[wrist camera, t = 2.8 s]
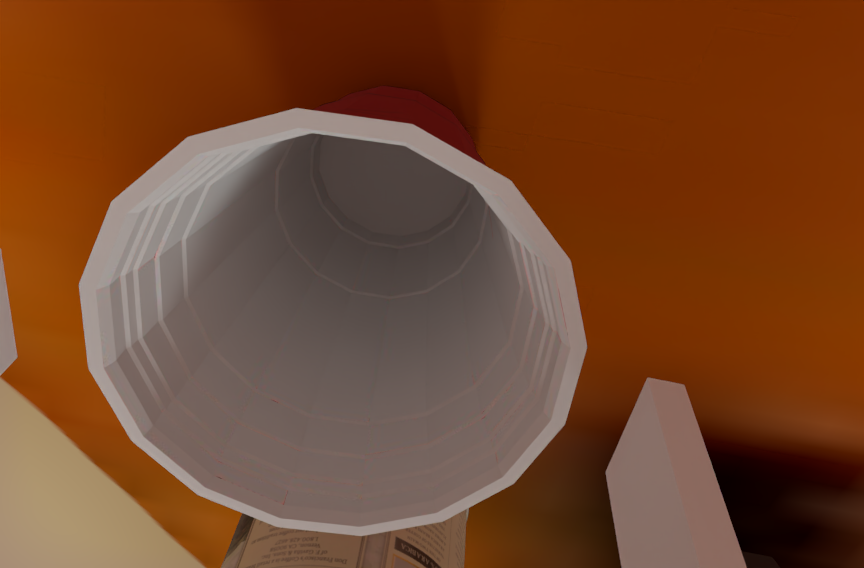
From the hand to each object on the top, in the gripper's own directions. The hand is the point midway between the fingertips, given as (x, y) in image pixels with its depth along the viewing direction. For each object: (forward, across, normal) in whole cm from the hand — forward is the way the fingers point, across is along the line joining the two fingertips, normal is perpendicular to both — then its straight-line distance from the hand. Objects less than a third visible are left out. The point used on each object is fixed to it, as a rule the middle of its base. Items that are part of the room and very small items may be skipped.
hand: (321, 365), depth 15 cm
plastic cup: (+12, 0, 0) cm, 12 cm away
